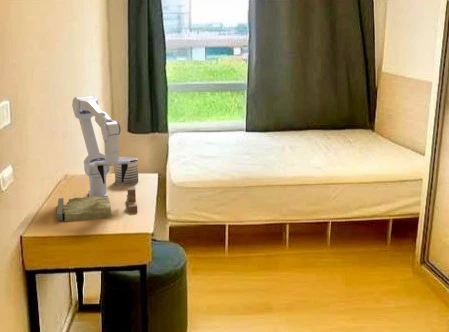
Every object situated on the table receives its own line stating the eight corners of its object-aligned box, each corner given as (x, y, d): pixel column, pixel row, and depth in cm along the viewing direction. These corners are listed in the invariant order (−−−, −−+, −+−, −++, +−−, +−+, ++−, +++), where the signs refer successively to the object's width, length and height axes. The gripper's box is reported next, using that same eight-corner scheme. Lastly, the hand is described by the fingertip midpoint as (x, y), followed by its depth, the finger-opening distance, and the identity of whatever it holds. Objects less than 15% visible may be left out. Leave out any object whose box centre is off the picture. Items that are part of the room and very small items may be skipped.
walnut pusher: (126, 201, 240) (126, 183, 237) (133, 200, 240) (133, 183, 238) (130, 213, 225) (129, 194, 222) (137, 213, 225) (136, 194, 223)
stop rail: (59, 205, 233) (58, 198, 232) (63, 204, 233) (63, 198, 233) (57, 221, 214) (56, 214, 213) (62, 221, 215) (62, 213, 214)
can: (109, 182, 266) (108, 158, 263) (126, 177, 275) (125, 153, 272) (128, 186, 260) (127, 161, 257) (143, 180, 269) (143, 156, 266)
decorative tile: (109, 202, 238) (108, 194, 237) (112, 218, 220) (111, 210, 219) (63, 206, 234) (63, 197, 233) (63, 222, 215) (62, 213, 214)
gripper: (94, 153, 224) (95, 186, 228) (130, 152, 228) (131, 183, 231) (93, 149, 231) (95, 181, 234) (128, 148, 234) (130, 179, 238)
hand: (113, 182), depth 233 cm, fingers open, 7 cm apart
